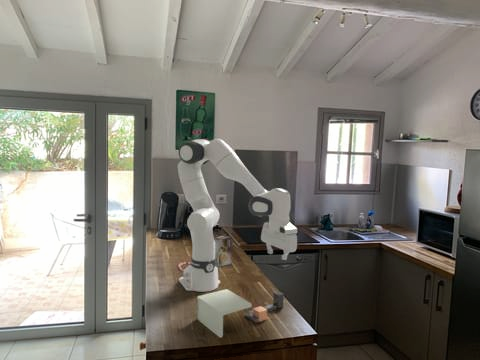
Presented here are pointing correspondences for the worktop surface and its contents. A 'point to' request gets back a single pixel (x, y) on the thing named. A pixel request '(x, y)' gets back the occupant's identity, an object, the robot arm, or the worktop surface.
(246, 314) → the hook tool
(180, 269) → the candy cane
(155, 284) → the worktop surface
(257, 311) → the cube
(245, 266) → the worktop surface
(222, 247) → the coffee box
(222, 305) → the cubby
